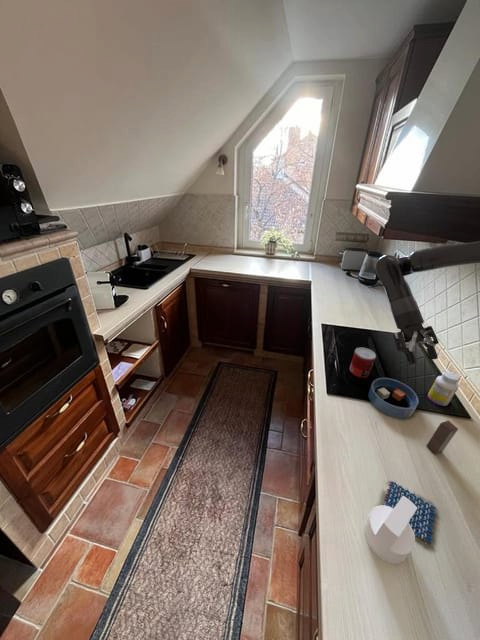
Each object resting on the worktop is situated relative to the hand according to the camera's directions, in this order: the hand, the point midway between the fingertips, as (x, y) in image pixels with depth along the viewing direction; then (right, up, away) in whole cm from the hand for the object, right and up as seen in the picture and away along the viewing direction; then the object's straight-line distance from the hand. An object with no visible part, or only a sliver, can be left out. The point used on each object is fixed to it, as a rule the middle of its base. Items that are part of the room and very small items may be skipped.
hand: (424, 361), depth 79 cm
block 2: (+2, -17, +17) cm, 24 cm away
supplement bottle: (+17, -18, +17) cm, 30 cm away
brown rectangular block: (+2, -28, -1) cm, 28 cm away
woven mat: (-15, -36, -15) cm, 42 cm away
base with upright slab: (-24, -38, -20) cm, 50 cm away
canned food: (-6, -10, +30) cm, 32 cm away
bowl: (-1, -18, +16) cm, 24 cm away
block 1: (-3, -16, +18) cm, 24 cm away
